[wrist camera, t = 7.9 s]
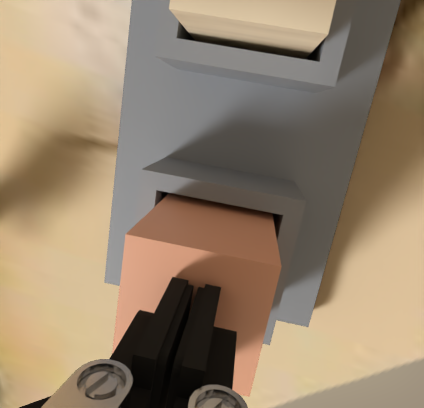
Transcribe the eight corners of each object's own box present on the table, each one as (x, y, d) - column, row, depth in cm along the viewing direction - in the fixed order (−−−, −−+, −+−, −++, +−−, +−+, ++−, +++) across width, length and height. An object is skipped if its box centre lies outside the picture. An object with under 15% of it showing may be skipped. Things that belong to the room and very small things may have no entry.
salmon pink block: (174, 188, 18) (125, 233, 11) (271, 207, 18) (281, 266, 11) (161, 276, 19) (110, 364, 12) (251, 295, 19) (249, 396, 12)
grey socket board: (154, -115, 18) (105, -224, 12) (413, -80, 17) (496, -180, 11) (113, 272, 24) (68, 323, 18) (304, 313, 23) (321, 381, 17)
